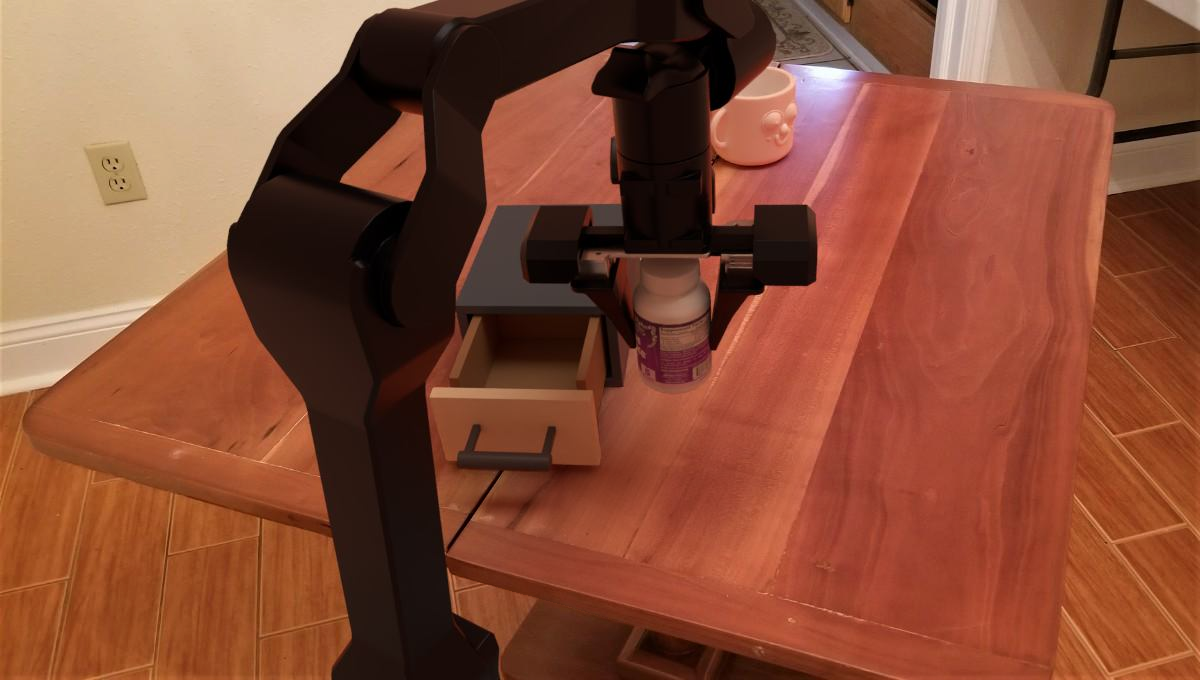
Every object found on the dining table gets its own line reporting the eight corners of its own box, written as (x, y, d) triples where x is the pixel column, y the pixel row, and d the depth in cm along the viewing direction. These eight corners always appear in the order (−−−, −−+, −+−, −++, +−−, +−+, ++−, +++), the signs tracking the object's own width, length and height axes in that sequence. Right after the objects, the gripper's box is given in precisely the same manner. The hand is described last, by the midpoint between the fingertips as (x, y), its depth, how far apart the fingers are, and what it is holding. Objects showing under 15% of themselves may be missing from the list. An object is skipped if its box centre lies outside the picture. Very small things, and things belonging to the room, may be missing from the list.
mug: (743, 188, 108) (744, 114, 103) (683, 160, 115) (680, 90, 109) (813, 151, 114) (817, 80, 108) (751, 127, 120) (752, 58, 115)
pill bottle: (630, 358, 69) (620, 248, 63) (699, 343, 70) (695, 232, 64) (649, 404, 65) (640, 290, 59) (722, 388, 66) (721, 274, 60)
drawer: (591, 506, 71) (582, 441, 66) (431, 500, 73) (412, 436, 68) (622, 342, 86) (615, 281, 82) (489, 341, 88) (476, 281, 84)
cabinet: (623, 386, 83) (614, 306, 77) (472, 383, 85) (454, 305, 79) (641, 278, 96) (635, 203, 90) (510, 278, 98) (497, 205, 92)
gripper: (817, 84, 61) (806, 282, 71) (538, 92, 64) (564, 280, 74) (824, 165, 52) (810, 377, 62) (501, 168, 56) (536, 370, 65)
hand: (673, 345), depth 66 cm, fingers closed on pill bottle, 5 cm apart
